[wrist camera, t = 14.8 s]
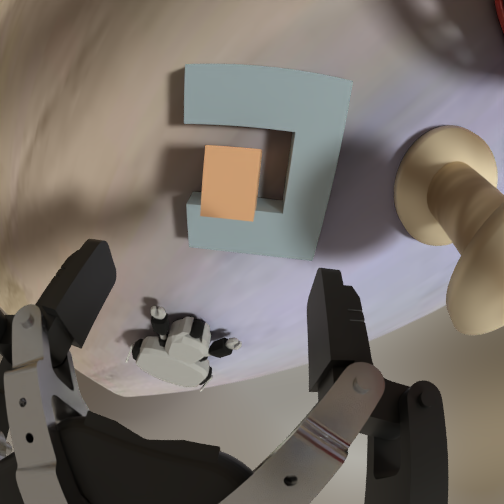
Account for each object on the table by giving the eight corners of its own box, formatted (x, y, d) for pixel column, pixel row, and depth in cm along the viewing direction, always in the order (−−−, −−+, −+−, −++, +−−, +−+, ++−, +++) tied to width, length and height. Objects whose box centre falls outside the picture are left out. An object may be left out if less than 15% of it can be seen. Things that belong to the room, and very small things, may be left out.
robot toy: (156, 284, 30) (131, 343, 38) (143, 313, 26) (123, 367, 34) (250, 325, 33) (203, 372, 41) (248, 355, 29) (199, 396, 37)
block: (220, 147, 19) (205, 144, 14) (262, 151, 19) (260, 149, 14) (215, 201, 20) (200, 216, 15) (256, 206, 20) (253, 221, 15)
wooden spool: (414, 106, 15) (518, 165, 6) (504, 149, 15) (584, 218, 6) (377, 230, 22) (419, 338, 13) (464, 245, 22) (512, 330, 13)
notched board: (194, 63, 15) (185, 64, 13) (345, 79, 15) (352, 81, 13) (195, 232, 24) (189, 247, 22) (310, 245, 23) (312, 260, 22)
